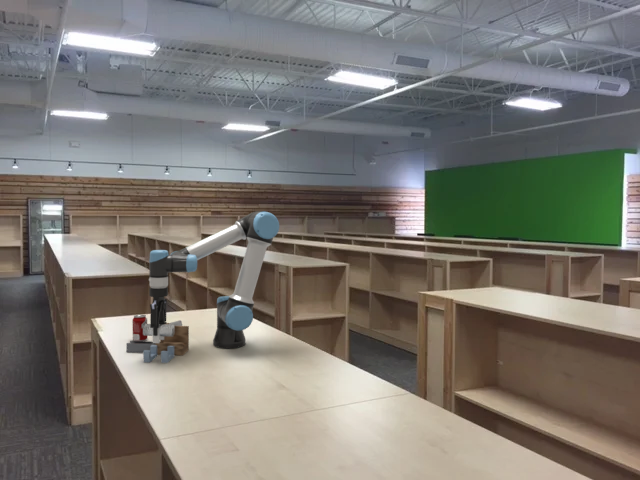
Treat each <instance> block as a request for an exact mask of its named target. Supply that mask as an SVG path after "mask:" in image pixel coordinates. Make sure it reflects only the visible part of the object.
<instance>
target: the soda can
mask: <svg viewBox="0 0 640 480" xmlns="http://www.w3.org/2000/svg"><path fill="white" fill-rule="evenodd" d="M131 322H132V341H148V336H144V335H143V327H144V324H148V317H147V314H136V315H133V318H132V321H131Z"/></svg>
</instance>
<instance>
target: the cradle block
mask: <svg viewBox="0 0 640 480" xmlns="http://www.w3.org/2000/svg"><path fill="white" fill-rule="evenodd" d="M142 355H143V363H151V362H152V361H153V360H155V359H156V358H157V357H158V355H157V345H151V346H150V350H144V351H143V353H142ZM173 358H175V355H174V346H168V347H167V351H161V355H160V360H161V361H160V362H161V364H168V363H169V362H170V361H171V360H172V359H173Z"/></svg>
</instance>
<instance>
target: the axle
mask: <svg viewBox="0 0 640 480" xmlns="http://www.w3.org/2000/svg"><path fill="white" fill-rule="evenodd" d="M159 328H160V336H168V337H173V336H174V333H175V326H174V325H169V324H159ZM143 335H144V336H147V337H148V336H149V337H150V336H151V337H153V328H150V323H147V324H144V327H143Z"/></svg>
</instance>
